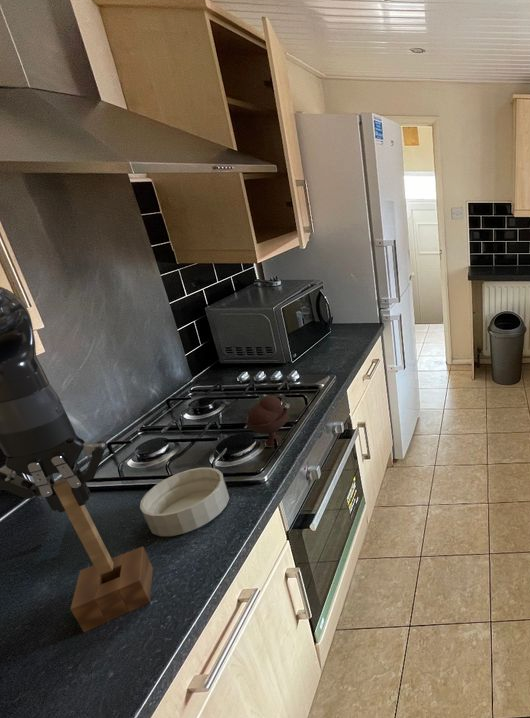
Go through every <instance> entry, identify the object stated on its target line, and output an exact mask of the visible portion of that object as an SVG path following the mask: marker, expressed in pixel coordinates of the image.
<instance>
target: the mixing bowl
mask: <svg viewBox="0 0 530 718" xmlns="http://www.w3.org/2000/svg"><path fill="white" fill-rule="evenodd" d="M226 483H227V482H226V481H225V477H224V474H223V472H221V471H220V470H219V469H217V468H213V467H197V468H191V469H190V468H189V469H187V470H184V471H181V472H177V473H175V474H174V475H171V476H169V477H167V478H165V479H163V480H162V481H160V482H158V483H157V484H155V485H154V486H152V487H151V488H150V489H149V490H148V491H147V492H146V493H145V494H144V495H143V497H142V498H141V500H140V505H139V510H140V512H141V514H142V516H143V519H144V521H145V524H146V526H147V528H148V529H149V532H151V534H152V535H156V536H158V537H174V536H178V535H183V534H187V533H190V532H192V531H194V530H197V529H199V528H201V527H203V526H205V525H206V524H208V523H209V522H211V521H212V520H214V519H215V518H216V517H218V516H219V515H220V514H221V513H222V512H223V510H224V509H225V508H226V507H227V505H228V503H229V501H230V494H229V489H228V486H227V484H226Z"/></svg>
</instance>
